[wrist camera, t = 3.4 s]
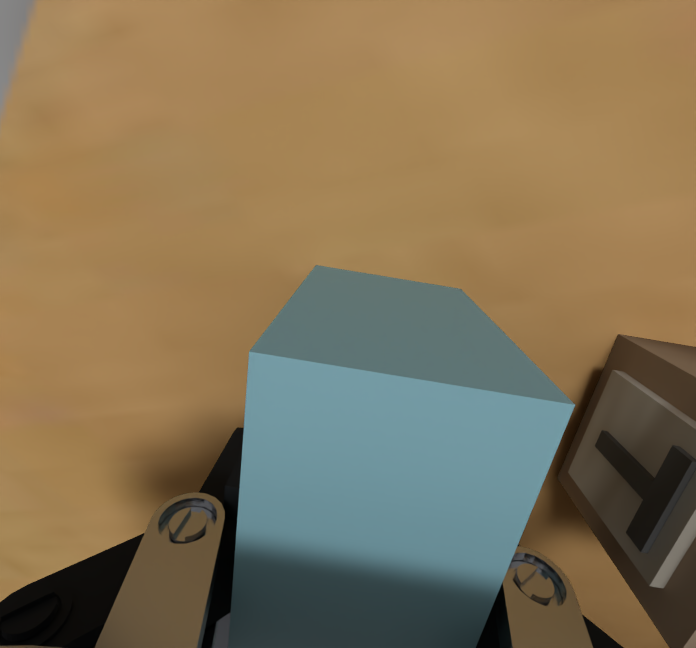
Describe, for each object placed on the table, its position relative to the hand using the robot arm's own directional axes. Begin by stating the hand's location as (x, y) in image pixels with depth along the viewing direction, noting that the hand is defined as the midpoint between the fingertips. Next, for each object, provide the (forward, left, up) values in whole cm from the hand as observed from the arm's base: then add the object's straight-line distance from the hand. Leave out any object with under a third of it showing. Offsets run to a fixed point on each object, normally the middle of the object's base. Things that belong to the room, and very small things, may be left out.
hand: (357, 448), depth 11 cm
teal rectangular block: (0, 0, -1) cm, 1 cm away
